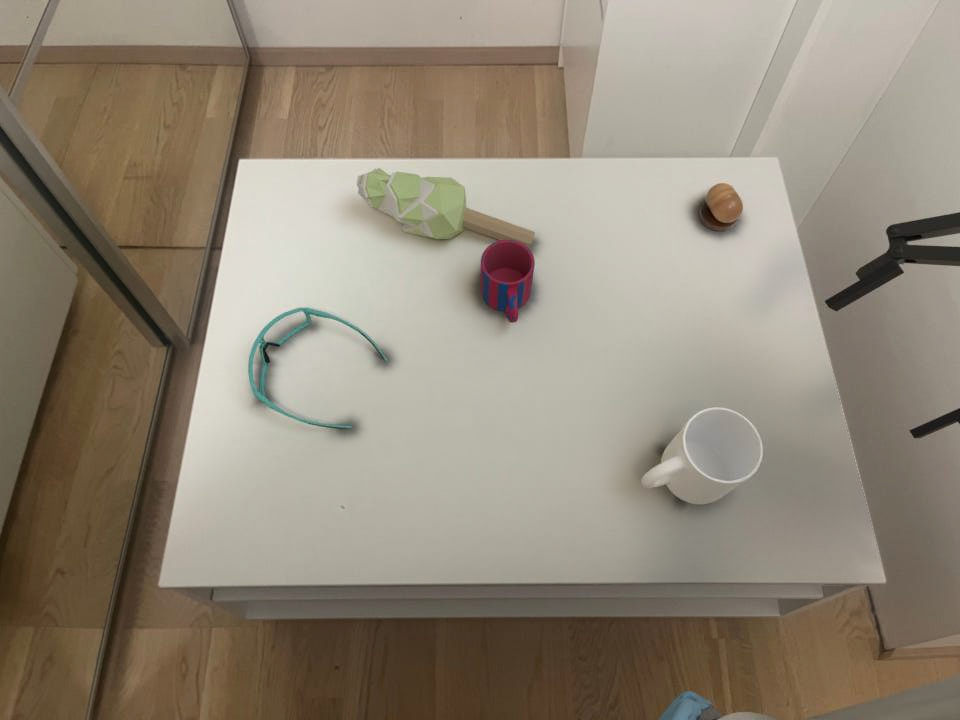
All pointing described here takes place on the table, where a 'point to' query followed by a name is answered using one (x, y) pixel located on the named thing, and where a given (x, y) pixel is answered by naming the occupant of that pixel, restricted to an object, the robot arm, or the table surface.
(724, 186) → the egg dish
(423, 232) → the decorative object
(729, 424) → the mug
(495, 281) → the cup
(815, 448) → the table surface
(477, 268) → the table surface
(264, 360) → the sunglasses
